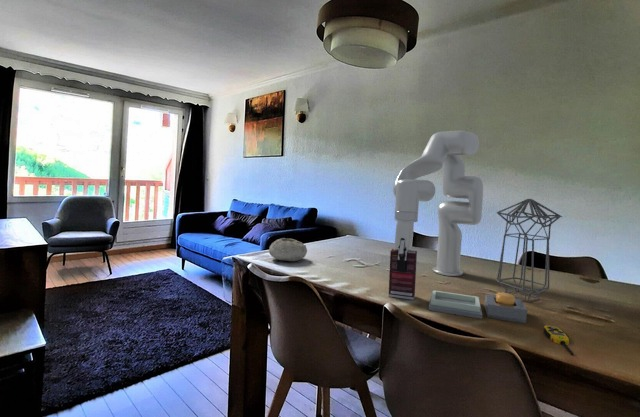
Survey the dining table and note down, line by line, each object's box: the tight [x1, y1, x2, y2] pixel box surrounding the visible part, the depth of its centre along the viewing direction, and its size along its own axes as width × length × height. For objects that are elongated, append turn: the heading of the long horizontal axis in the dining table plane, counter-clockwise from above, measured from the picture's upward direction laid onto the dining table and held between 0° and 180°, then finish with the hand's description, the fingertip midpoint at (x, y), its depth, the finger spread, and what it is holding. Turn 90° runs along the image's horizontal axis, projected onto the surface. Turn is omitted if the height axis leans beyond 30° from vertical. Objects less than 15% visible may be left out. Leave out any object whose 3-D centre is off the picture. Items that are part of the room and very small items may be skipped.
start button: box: [495, 292, 516, 306], centre depth 104 cm, size 5×5×3 cm
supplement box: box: [388, 248, 418, 301], centre depth 117 cm, size 9×5×16 cm, turn 71°
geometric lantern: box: [496, 198, 563, 303], centre depth 121 cm, size 16×16×35 cm
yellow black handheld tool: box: [543, 325, 574, 356], centre depth 87 cm, size 5×2×15 cm
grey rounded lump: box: [268, 237, 308, 262], centre depth 163 cm, size 18×18×10 cm
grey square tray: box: [428, 289, 483, 320], centre depth 109 cm, size 14×15×3 cm
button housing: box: [484, 293, 528, 324], centre depth 104 cm, size 10×10×4 cm
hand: (402, 269), depth 117 cm, fingers closed on supplement box, 4 cm apart
